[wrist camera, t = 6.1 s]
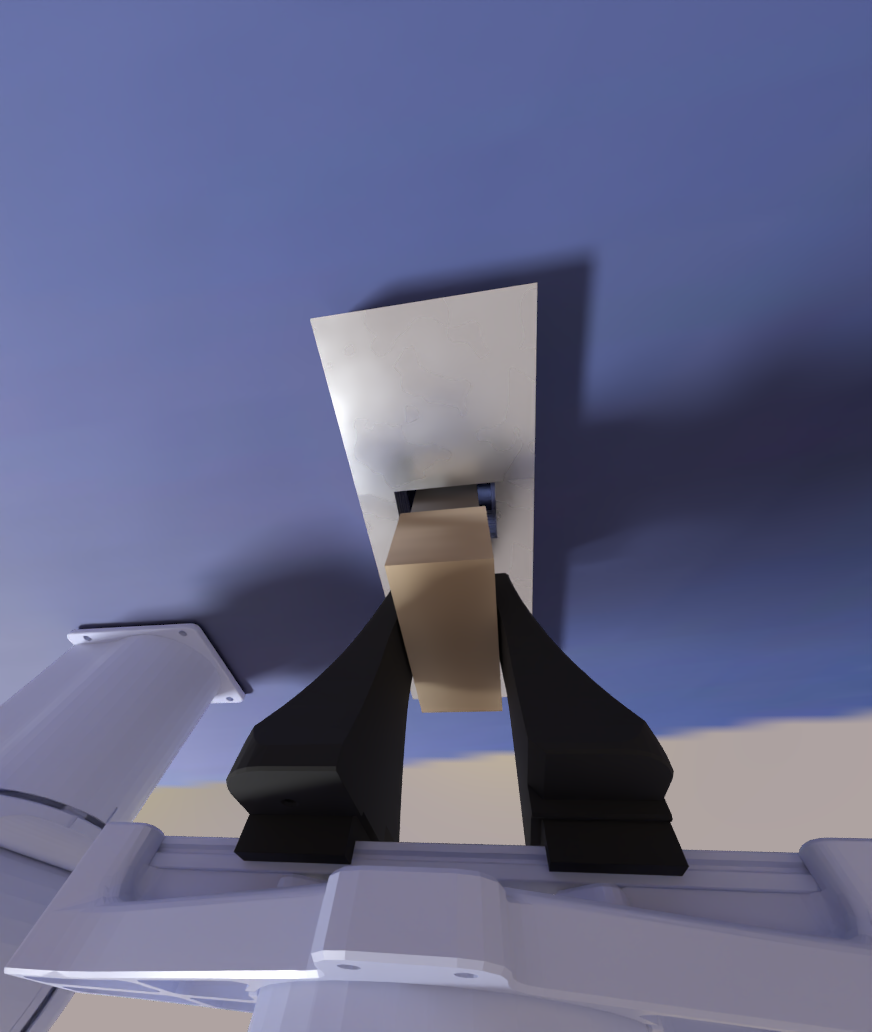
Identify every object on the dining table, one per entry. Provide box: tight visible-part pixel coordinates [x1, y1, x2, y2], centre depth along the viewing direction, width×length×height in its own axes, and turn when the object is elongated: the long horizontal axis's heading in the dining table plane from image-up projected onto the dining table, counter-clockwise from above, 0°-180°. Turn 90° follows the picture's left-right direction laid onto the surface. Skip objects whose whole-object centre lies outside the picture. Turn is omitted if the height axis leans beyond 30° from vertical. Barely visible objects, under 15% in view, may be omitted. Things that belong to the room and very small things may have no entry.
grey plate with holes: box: [310, 283, 537, 699], centre depth 16 cm, size 7×20×2 cm, turn 7°
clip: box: [385, 484, 502, 713], centre depth 13 cm, size 3×7×6 cm, turn 7°
